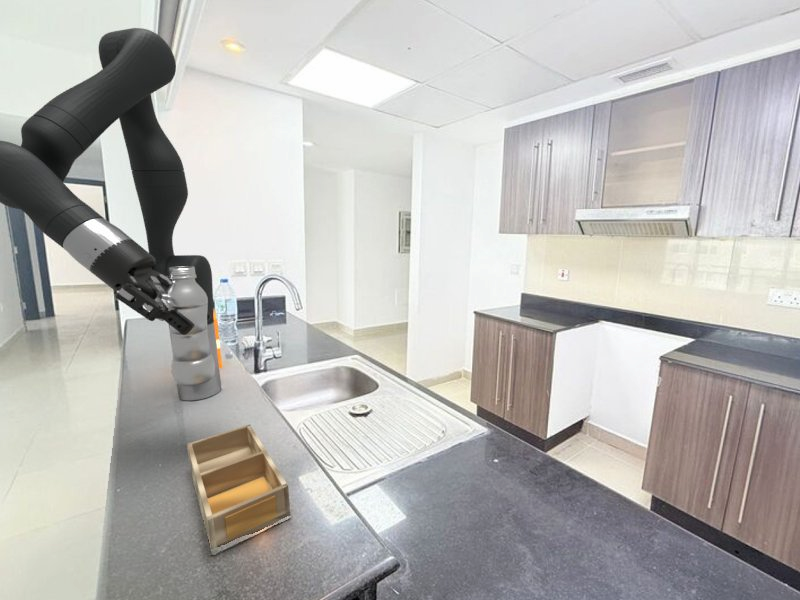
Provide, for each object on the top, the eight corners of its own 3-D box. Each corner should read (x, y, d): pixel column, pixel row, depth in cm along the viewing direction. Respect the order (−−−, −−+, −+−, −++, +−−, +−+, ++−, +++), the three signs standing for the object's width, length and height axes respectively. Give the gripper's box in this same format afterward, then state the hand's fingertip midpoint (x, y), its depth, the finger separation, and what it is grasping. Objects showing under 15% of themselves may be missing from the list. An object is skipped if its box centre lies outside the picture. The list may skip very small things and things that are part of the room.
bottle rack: (190, 471, 58) (187, 443, 57) (252, 450, 64) (249, 424, 63) (212, 558, 43) (207, 522, 42) (291, 519, 48) (288, 487, 47)
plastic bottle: (206, 372, 66) (194, 264, 62) (223, 382, 62) (211, 267, 58) (167, 384, 61) (151, 267, 57) (183, 395, 57) (166, 270, 53)
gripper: (93, 238, 49) (195, 319, 52) (152, 236, 63) (229, 301, 67) (58, 277, 49) (161, 355, 53) (125, 267, 63) (202, 329, 67)
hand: (199, 324), depth 60 cm, fingers closed on plastic bottle, 6 cm apart
